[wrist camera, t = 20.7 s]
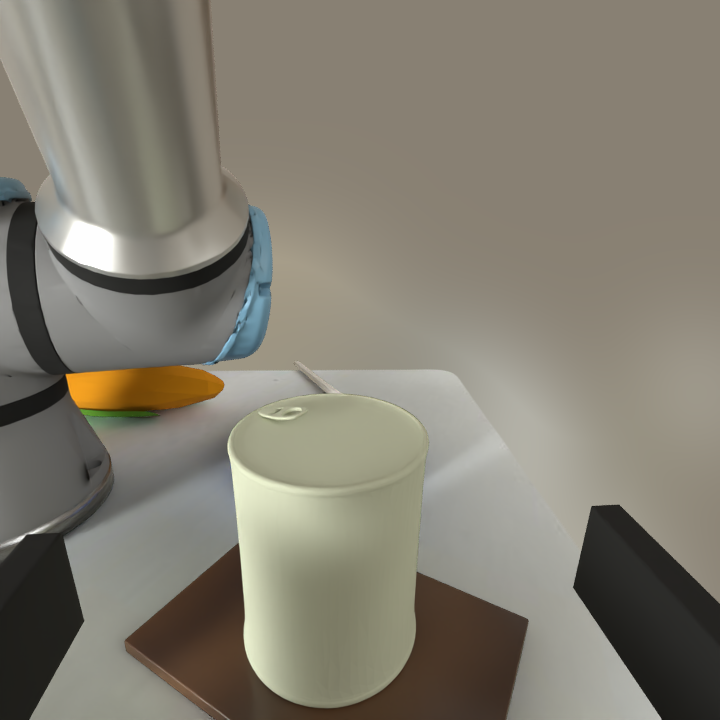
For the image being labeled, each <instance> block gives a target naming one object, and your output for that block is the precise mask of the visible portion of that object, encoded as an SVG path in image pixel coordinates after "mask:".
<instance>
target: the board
mask: <svg viewBox="0 0 720 720" xmlns="http://www.w3.org/2000/svg"><path fill="white" fill-rule="evenodd" d="M414 612H415V619H416V634H415V640H414V645H413V648H412V651H411V654H410V656H409V658H408V660H407V662H406V664H405V665H404V667H403V669H402V670H401V672H400V673H399V674H398V675H397V676H396V678H395V679H394V680H393V681H392V682H391V683H390V684H389V685H388V686H386V687H385V688H384V689H383V690H381V691H380V692H378V693H377V694H375V695H373V696H372V697H370V698H367V699H365V700H363V701H361V702H359V703H355V704H352V705H348V706H344V707H338V708H314V707H307V706H303V705H300V704H296V703H293V702H291V701H289V700H287V699H284V698H282V697H281V696H279V695H278V694H276V693H275V692H273V691H272V690H271V689H270V688H268V687H267V686H266V685H265V684H264V683H263V682H262V681H261V680H260V678H259V677H258V676H257V674H256V673H255V671H254V670H253V668H252V666H251V664H250V662H249V659H248V657H247V654H246V650H245V645H244V623H245V607H244V594H243V582H242V570H241V558H240V547H239V543H238V544H237V545H235V546H234V547H233V548H232V549H231V550H230V551H228V552H227V553H226V554H225V555H224V556H223V557H221V558H220V559H219V560H218V561H217V562H216V563H214V564H213V565H212V566H211V567H210V568H209V569H207V570H206V571H205V572H204V573H203V574H202V575H200V576H199V577H198V578H197V579H196V580H195V581H193V582H192V583H191V584H190V585H189V586H188V587H186V588H185V589H184V590H183V591H182V592H181V593H179V594H178V595H177V596H176V597H175V598H174V599H172V600H171V601H170V602H169V603H168V604H167V605H165V606H164V607H163V608H162V609H161V610H160V611H158V612H157V613H156V614H155V615H154V616H153V617H151V618H150V619H149V620H148V621H147V622H146V623H144V624H143V625H142V626H141V627H140V628H139V629H137V630H136V631H135V632H134V633H133V634H132V635H130V636H129V637H128V638H127V639H126V640H125V641H124V642H125V647H126V651H127V652H128V653H129V654H131V655H132V656H133V657H134V658H136V659H137V660H138V661H140V662H141V663H142V664H144V665H145V666H146V667H148V668H149V669H150V670H151V671H153V672H154V673H155V674H157V675H158V676H159V677H161V678H162V679H163V680H164V681H166V682H167V683H168V684H170V685H171V686H172V687H174V688H175V689H176V690H177V691H179V692H180V693H181V694H183V695H184V696H185V697H187V698H188V699H189V700H191V701H192V702H193V703H194V704H196V705H197V706H198V707H200V708H201V709H202V710H204V711H205V712H206V713H207V714H209V715H210V716H211V717H213V718H214V719H215V720H506V719H507V715H508V710H509V706H510V702H511V697H512V693H513V689H514V684H515V680H516V676H517V671H518V667H519V663H520V658H521V654H522V650H523V645H524V641H525V637H526V632H527V627H528V622H529V620H528V619H527V618H524V617H522V616H519V615H517V614H515V613H512V612H510V611H508V610H505V609H503V608H501V607H498V606H496V605H494V604H491V603H489V602H487V601H484V600H482V599H480V598H477V597H475V596H472V595H470V594H468V593H465V592H463V591H461V590H458V589H456V588H454V587H451V586H449V585H447V584H444V583H442V582H440V581H437V580H435V579H432V578H430V577H428V576H425V575H423V574H421V573H418V572H416V587H415V603H414Z"/></svg>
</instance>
